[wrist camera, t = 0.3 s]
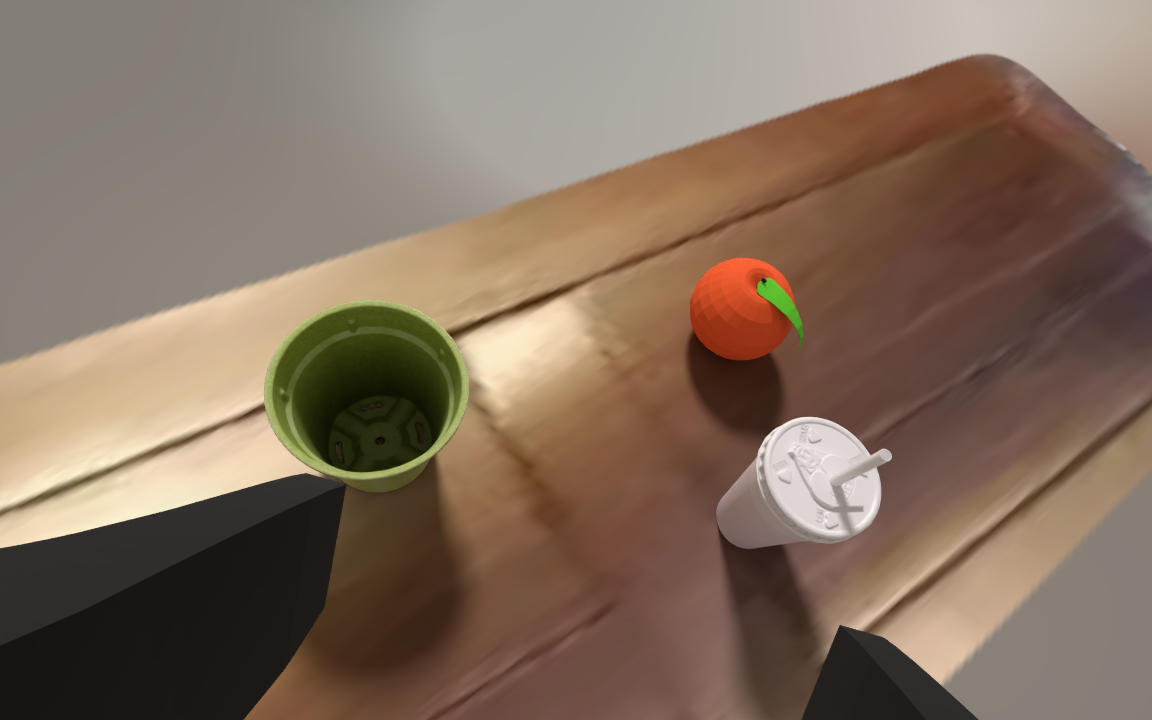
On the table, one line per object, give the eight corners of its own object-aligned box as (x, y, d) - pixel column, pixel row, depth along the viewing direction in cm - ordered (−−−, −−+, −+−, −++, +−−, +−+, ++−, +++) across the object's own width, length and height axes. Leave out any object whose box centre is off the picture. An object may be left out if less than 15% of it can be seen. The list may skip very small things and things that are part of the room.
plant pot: (437, 356, 42) (437, 282, 34) (482, 492, 39) (493, 444, 31) (283, 394, 39) (247, 323, 31) (318, 545, 36) (286, 507, 28)
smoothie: (758, 594, 39) (905, 551, 27) (675, 521, 40) (781, 447, 28) (809, 516, 42) (963, 445, 30) (731, 450, 43) (848, 354, 31)
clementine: (795, 348, 48) (849, 296, 42) (742, 406, 45) (792, 361, 38) (713, 277, 49) (753, 217, 43) (656, 329, 46) (691, 273, 40)
